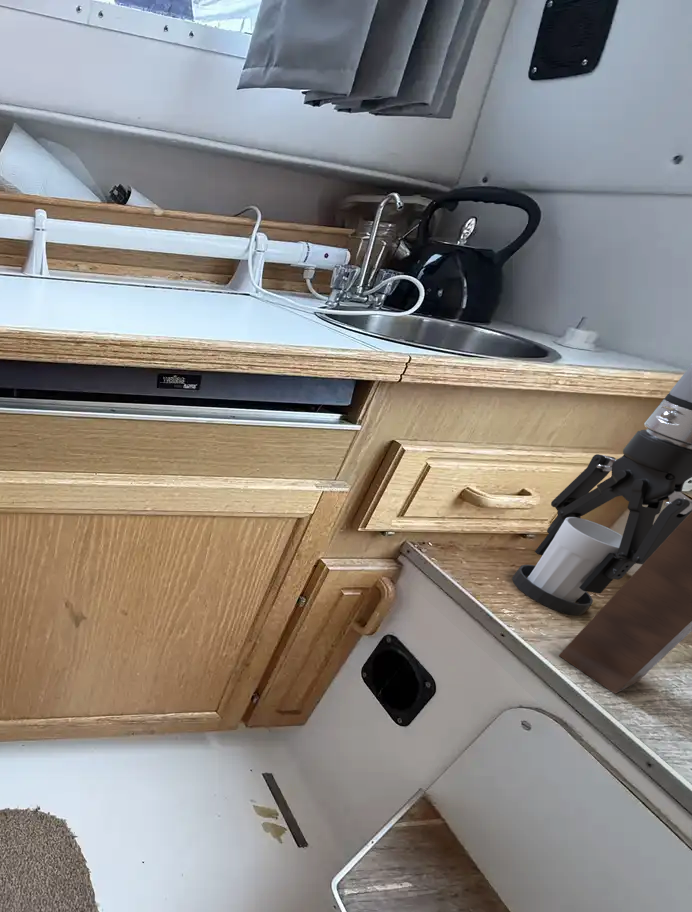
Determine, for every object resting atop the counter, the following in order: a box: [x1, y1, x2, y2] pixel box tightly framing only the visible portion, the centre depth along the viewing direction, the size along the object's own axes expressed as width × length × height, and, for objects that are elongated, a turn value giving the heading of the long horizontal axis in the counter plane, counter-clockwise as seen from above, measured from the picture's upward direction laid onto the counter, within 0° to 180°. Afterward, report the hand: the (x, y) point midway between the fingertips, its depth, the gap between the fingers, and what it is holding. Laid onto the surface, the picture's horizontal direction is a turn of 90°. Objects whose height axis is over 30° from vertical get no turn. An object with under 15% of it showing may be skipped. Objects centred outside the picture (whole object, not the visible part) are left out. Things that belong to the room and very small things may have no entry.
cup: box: [526, 517, 623, 603], centre depth 84 cm, size 8×8×12 cm
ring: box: [511, 564, 594, 616], centre depth 86 cm, size 9×9×2 cm
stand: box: [558, 512, 692, 695], centre depth 64 cm, size 6×6×32 cm
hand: (565, 571), depth 84 cm, fingers closed on cup, 8 cm apart
